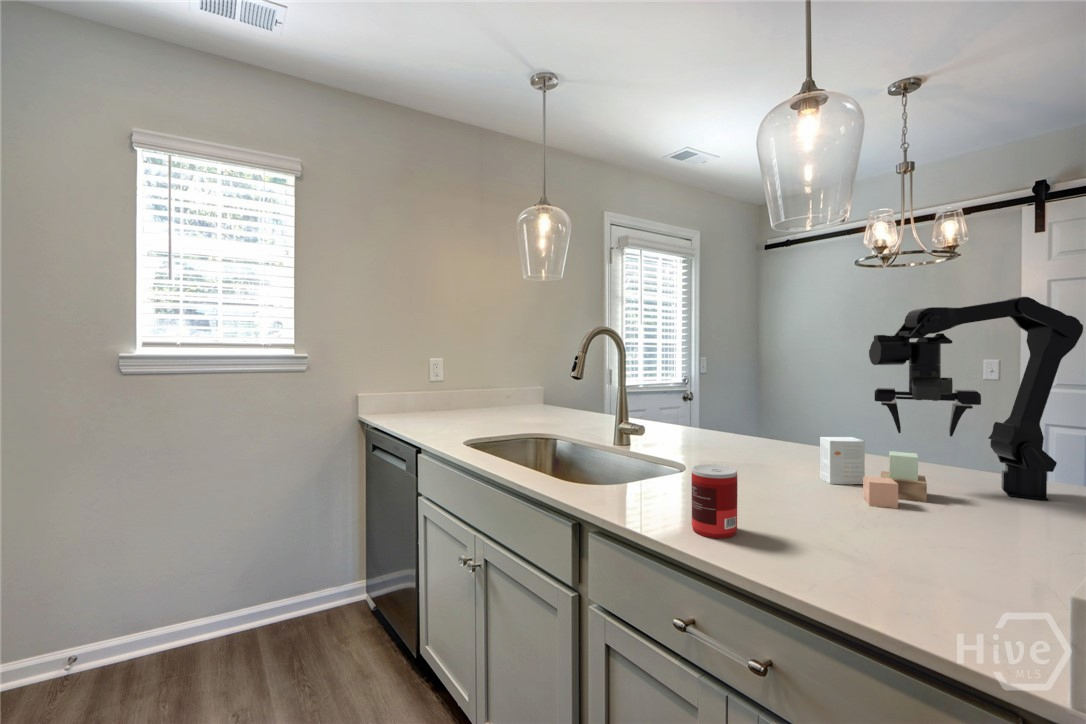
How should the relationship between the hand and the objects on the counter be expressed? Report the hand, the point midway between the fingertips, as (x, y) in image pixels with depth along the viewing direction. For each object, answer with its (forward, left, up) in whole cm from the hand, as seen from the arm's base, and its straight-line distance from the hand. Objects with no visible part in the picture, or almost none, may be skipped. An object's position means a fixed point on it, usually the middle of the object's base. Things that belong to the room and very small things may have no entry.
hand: (924, 434), depth 115 cm
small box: (+16, 0, -13) cm, 21 cm away
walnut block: (+4, +6, -13) cm, 15 cm away
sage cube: (+4, +6, -9) cm, 11 cm away
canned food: (+32, +51, -13) cm, 61 cm away
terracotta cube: (+8, +16, -13) cm, 22 cm away
